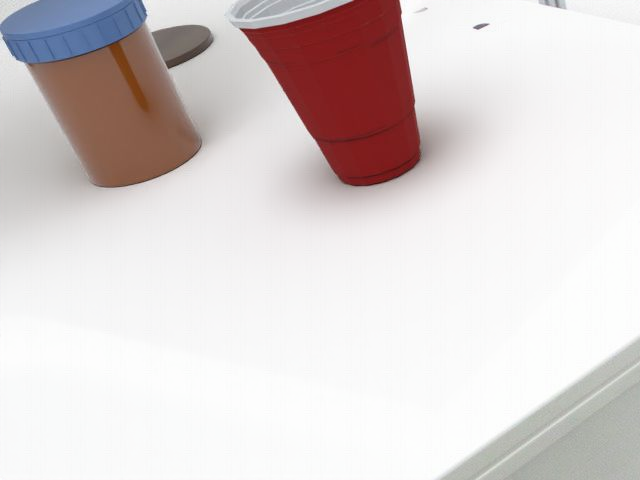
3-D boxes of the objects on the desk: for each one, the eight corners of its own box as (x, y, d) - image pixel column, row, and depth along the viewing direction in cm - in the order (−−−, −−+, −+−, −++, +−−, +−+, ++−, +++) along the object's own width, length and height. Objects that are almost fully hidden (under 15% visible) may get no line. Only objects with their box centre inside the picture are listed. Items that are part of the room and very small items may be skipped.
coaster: (82, 83, 95) (79, 76, 94) (135, 38, 102) (132, 32, 102) (184, 70, 93) (180, 63, 92) (230, 25, 100) (227, 18, 100)
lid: (165, 23, 72) (151, -6, 71) (31, 74, 69) (14, 45, 68) (126, 0, 78) (113, -28, 77) (1, 46, 75) (-15, 18, 74)
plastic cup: (366, 122, 77) (302, -55, 69) (487, 132, 73) (434, -57, 65) (264, 197, 71) (181, 12, 63) (389, 214, 66) (316, 15, 58)
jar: (67, 192, 77) (-19, 45, 70) (122, 138, 83) (48, -3, 76) (171, 181, 76) (94, 29, 69) (219, 126, 82) (154, -19, 75)
